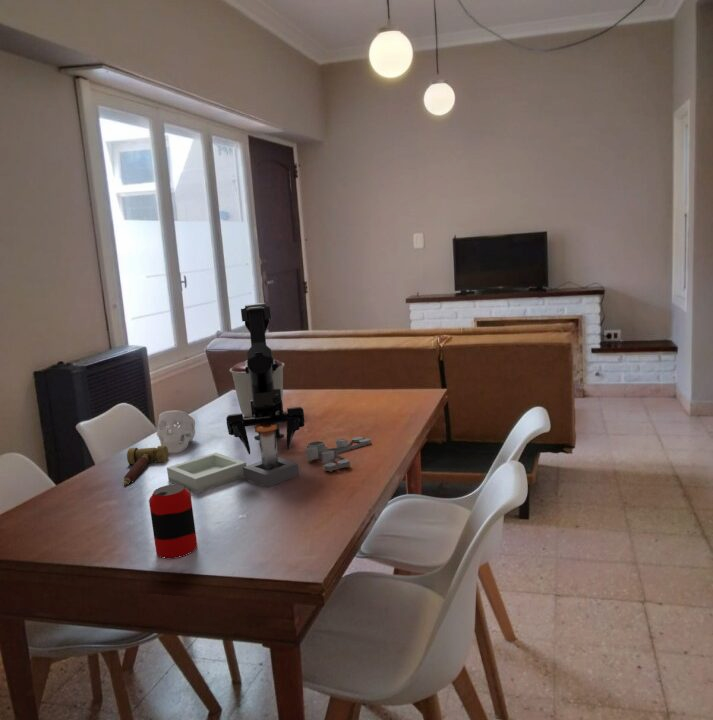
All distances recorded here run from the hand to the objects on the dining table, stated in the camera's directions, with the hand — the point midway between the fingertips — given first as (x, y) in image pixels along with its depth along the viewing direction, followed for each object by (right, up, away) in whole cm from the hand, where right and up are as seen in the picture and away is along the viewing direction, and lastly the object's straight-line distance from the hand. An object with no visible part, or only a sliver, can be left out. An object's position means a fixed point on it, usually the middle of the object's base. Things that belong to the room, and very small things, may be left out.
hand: (268, 451), depth 163 cm
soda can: (-13, -14, -34) cm, 39 cm away
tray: (-16, -7, +5) cm, 18 cm away
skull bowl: (-31, -4, +36) cm, 48 cm away
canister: (-11, +3, +65) cm, 66 cm away
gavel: (-36, -8, +15) cm, 40 cm away
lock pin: (0, -7, +3) cm, 7 cm away
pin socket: (0, -7, +3) cm, 7 cm away
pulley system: (+15, -4, +16) cm, 22 cm away
